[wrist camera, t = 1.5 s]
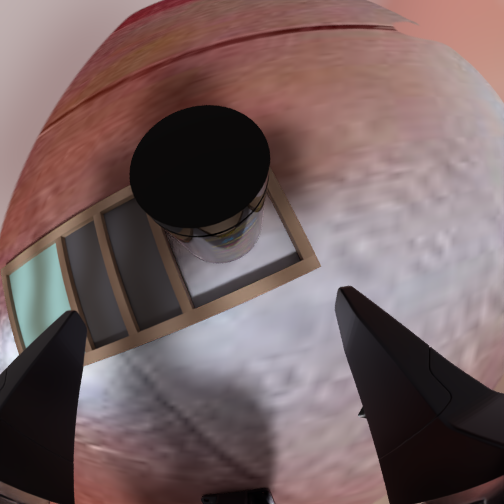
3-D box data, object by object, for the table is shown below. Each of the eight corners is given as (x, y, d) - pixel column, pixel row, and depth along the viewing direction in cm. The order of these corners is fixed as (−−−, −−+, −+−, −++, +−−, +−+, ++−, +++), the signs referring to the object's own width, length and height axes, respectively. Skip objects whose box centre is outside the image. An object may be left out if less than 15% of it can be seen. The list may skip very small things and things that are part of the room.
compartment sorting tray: (250, 138, 23) (250, 132, 22) (318, 267, 21) (321, 266, 20) (6, 271, 21) (0, 269, 20) (35, 382, 19) (29, 383, 18)
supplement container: (279, 213, 22) (298, 142, 12) (230, 282, 21) (209, 261, 11) (213, 172, 23) (190, 89, 13) (165, 234, 22) (104, 182, 12)
